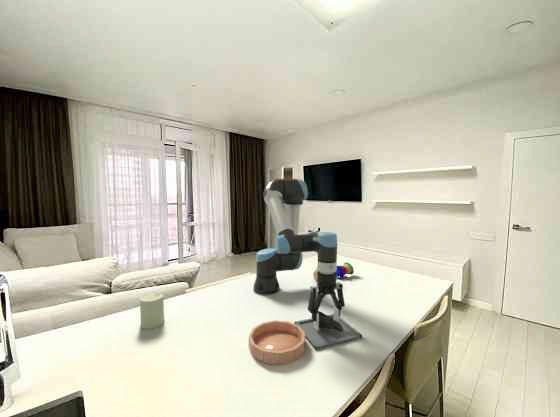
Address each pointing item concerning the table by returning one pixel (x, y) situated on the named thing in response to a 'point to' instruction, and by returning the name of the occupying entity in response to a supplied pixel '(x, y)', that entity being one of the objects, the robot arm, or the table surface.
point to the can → (152, 310)
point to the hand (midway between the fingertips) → (326, 325)
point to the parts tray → (327, 334)
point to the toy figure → (344, 270)
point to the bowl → (277, 342)
